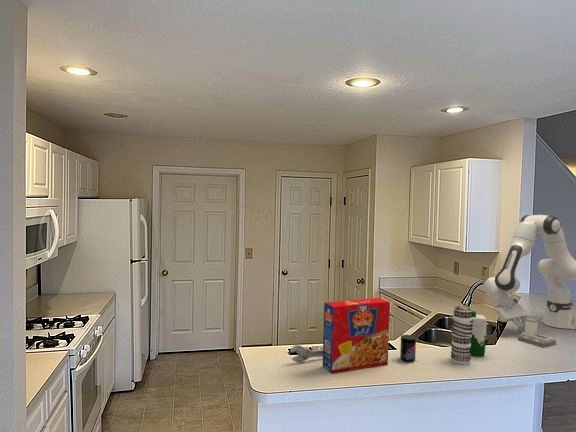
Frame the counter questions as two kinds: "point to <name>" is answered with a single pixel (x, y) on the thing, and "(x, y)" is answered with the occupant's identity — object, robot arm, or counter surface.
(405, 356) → the supplement container
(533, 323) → the switch tab
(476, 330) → the milk carton
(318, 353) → the wrench
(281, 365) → the counter surface
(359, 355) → the pasta box
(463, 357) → the leaning tower model
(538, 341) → the switch panel
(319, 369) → the counter surface
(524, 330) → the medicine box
